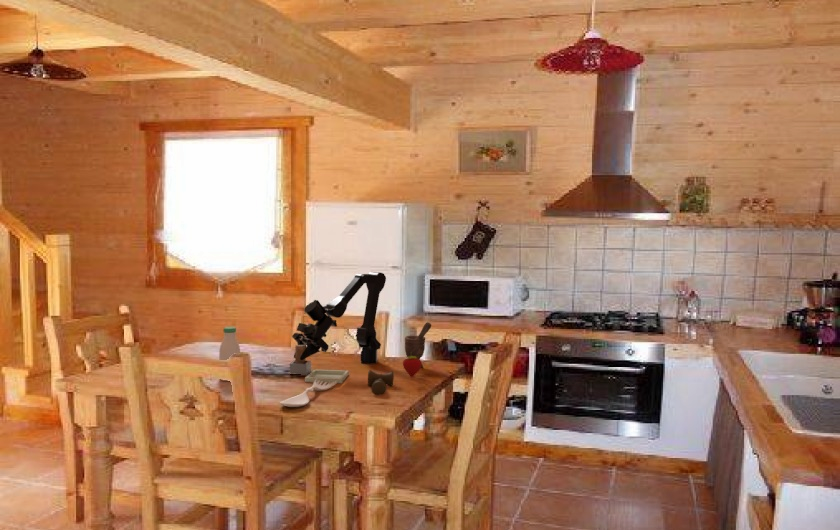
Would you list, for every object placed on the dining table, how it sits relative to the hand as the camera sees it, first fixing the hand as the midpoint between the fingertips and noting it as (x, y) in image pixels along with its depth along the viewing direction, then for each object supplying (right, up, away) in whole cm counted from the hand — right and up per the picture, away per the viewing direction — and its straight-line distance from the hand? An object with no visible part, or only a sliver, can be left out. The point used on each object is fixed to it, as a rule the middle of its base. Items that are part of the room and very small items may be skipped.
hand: (297, 358), depth 258 cm
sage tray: (+13, -7, -7) cm, 16 cm away
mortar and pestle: (+48, -7, +16) cm, 51 cm away
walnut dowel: (+1, -6, +1) cm, 6 cm away
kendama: (+34, -9, -17) cm, 39 cm away
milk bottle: (-24, -7, -8) cm, 27 cm away
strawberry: (+45, -8, 0) cm, 46 cm away
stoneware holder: (+1, -7, +1) cm, 7 cm away
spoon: (+10, -9, -32) cm, 35 cm away
